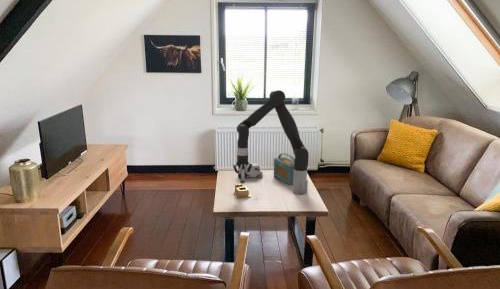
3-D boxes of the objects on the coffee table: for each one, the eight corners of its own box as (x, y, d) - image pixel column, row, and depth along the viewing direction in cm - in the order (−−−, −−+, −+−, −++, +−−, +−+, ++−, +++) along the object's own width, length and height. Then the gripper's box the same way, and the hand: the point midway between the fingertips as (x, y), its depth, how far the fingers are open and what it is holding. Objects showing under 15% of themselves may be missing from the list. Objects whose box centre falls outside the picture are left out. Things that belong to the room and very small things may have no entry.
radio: (272, 175, 296) (273, 151, 291) (284, 174, 300) (284, 150, 296) (289, 185, 273) (290, 159, 269) (301, 183, 278) (302, 158, 273)
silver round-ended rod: (244, 181, 253) (244, 167, 250) (245, 183, 250) (245, 169, 247) (239, 182, 252) (239, 168, 249) (240, 183, 249) (240, 169, 246)
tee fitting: (244, 190, 262) (244, 183, 261) (250, 197, 250) (250, 190, 249) (232, 192, 259) (232, 185, 258) (238, 198, 247) (238, 191, 246)
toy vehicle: (263, 177, 291) (263, 165, 289) (241, 179, 287) (241, 166, 285) (260, 174, 299) (260, 162, 297) (238, 175, 296) (238, 163, 293)
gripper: (250, 151, 252) (250, 175, 256) (230, 153, 247) (230, 177, 251) (254, 154, 245) (254, 179, 249) (234, 156, 240) (234, 181, 244)
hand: (242, 178), depth 250 cm, fingers closed on silver round-ended rod, 3 cm apart
